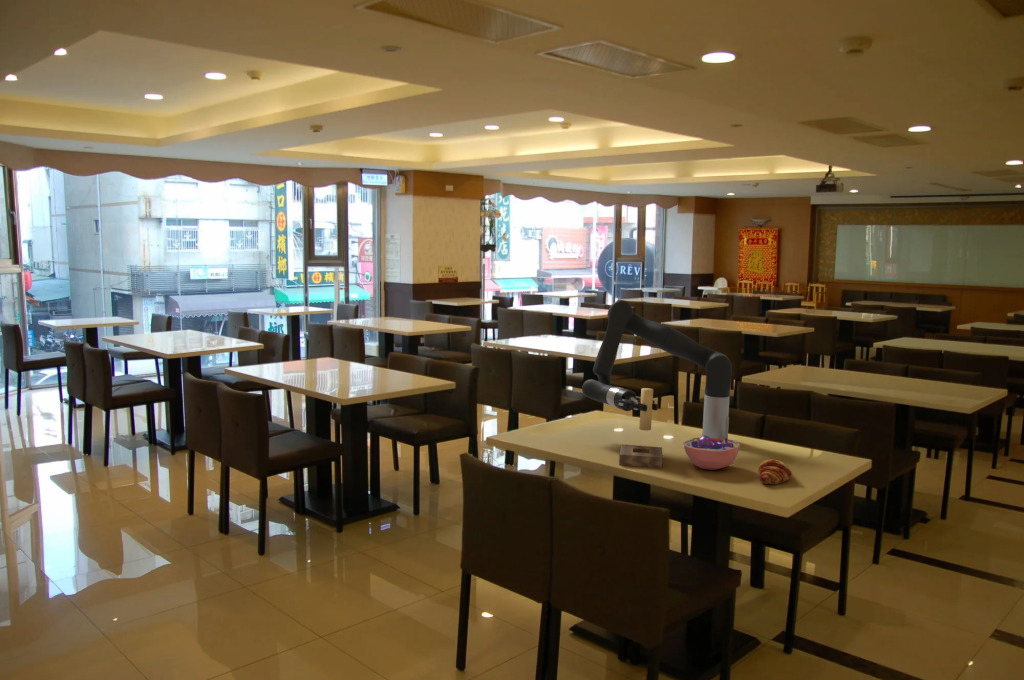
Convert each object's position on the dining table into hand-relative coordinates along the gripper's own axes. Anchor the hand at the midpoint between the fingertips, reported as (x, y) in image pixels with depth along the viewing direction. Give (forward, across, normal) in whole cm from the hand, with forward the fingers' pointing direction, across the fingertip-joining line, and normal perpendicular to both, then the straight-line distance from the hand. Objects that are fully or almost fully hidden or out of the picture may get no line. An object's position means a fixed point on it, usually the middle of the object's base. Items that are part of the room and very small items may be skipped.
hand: (651, 407), depth 260 cm
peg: (-3, 0, +8) cm, 8 cm away
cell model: (+17, +13, +18) cm, 28 cm away
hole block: (+1, -4, +18) cm, 18 cm away
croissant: (+35, +23, +18) cm, 45 cm away
